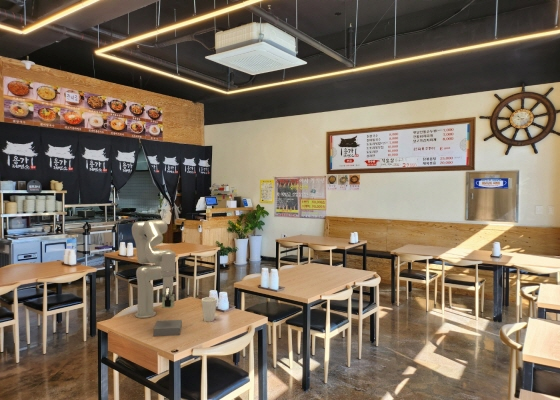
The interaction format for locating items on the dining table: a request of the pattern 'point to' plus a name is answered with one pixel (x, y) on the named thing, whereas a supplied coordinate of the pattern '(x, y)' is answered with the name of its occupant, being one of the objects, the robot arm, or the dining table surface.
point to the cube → (171, 301)
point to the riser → (167, 327)
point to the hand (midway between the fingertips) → (168, 304)
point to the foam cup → (209, 308)
